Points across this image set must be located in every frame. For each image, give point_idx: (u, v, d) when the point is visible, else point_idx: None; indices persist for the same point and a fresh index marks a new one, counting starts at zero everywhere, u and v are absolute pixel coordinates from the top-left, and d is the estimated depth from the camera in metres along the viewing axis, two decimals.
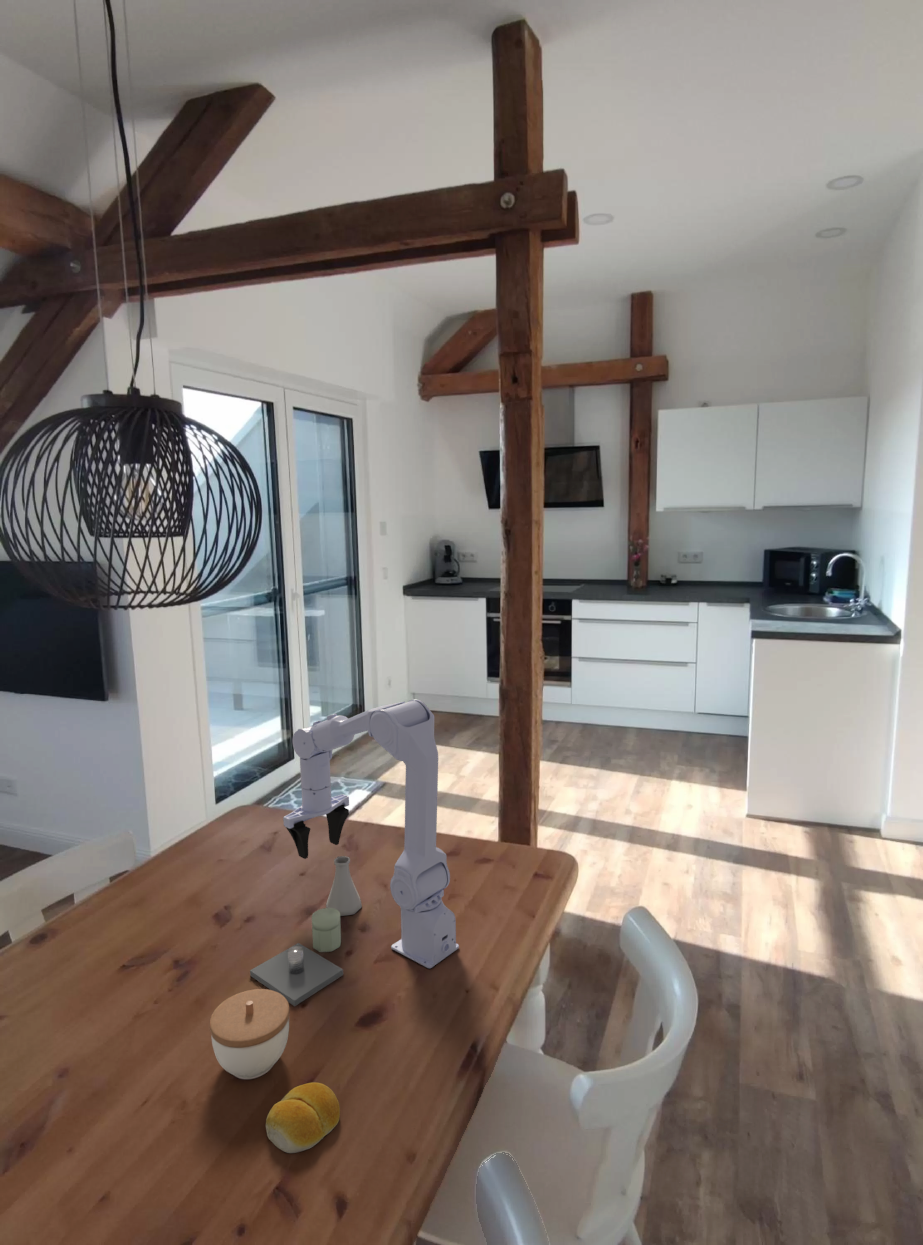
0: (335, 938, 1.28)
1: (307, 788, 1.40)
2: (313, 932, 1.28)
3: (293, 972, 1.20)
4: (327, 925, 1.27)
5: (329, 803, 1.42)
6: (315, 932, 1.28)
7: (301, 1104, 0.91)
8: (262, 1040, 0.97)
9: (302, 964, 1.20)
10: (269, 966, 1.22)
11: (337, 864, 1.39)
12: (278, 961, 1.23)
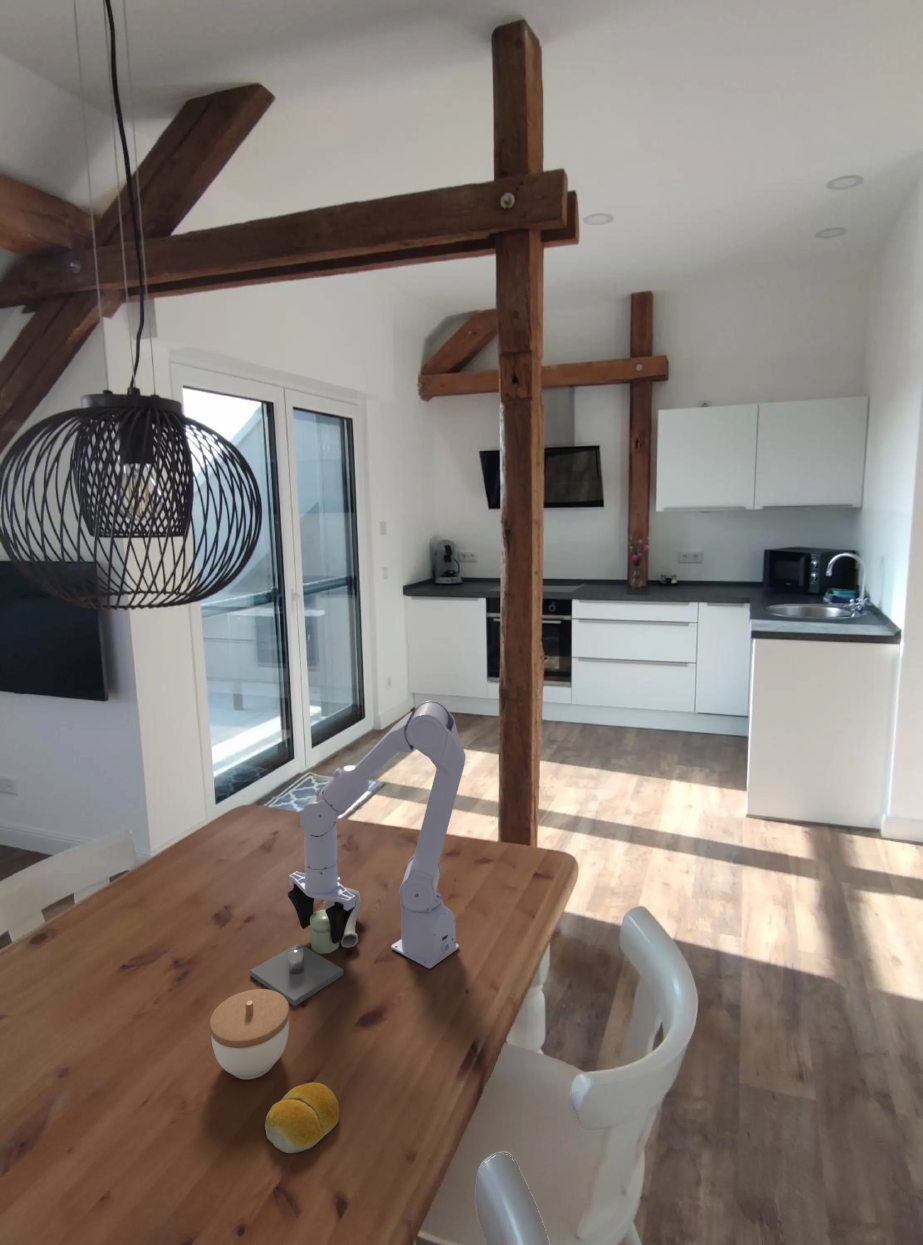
0: None
1: (321, 868, 1.25)
2: (311, 933, 1.28)
3: (293, 972, 1.20)
4: (325, 926, 1.26)
5: (314, 888, 1.25)
6: (313, 933, 1.27)
7: (301, 1104, 0.91)
8: (262, 1040, 0.97)
9: (302, 964, 1.20)
10: (269, 966, 1.22)
11: None
12: (278, 961, 1.23)
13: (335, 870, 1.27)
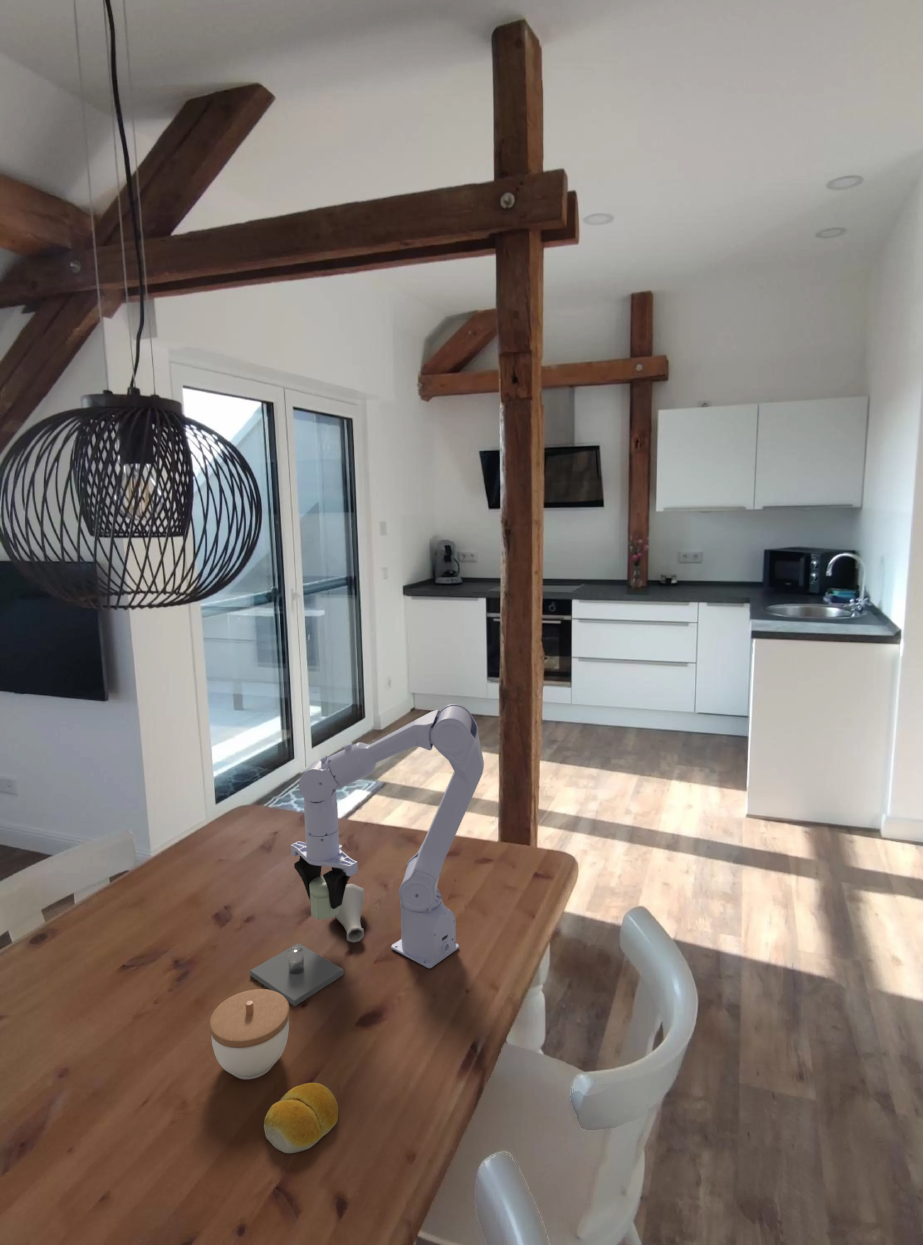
0: None
1: (322, 834, 1.24)
2: (311, 899, 1.27)
3: (293, 972, 1.20)
4: (325, 892, 1.26)
5: (316, 855, 1.24)
6: (313, 899, 1.26)
7: (300, 1104, 0.90)
8: (262, 1040, 0.97)
9: (302, 964, 1.20)
10: (269, 966, 1.22)
11: None
12: (278, 961, 1.23)
13: (336, 837, 1.26)
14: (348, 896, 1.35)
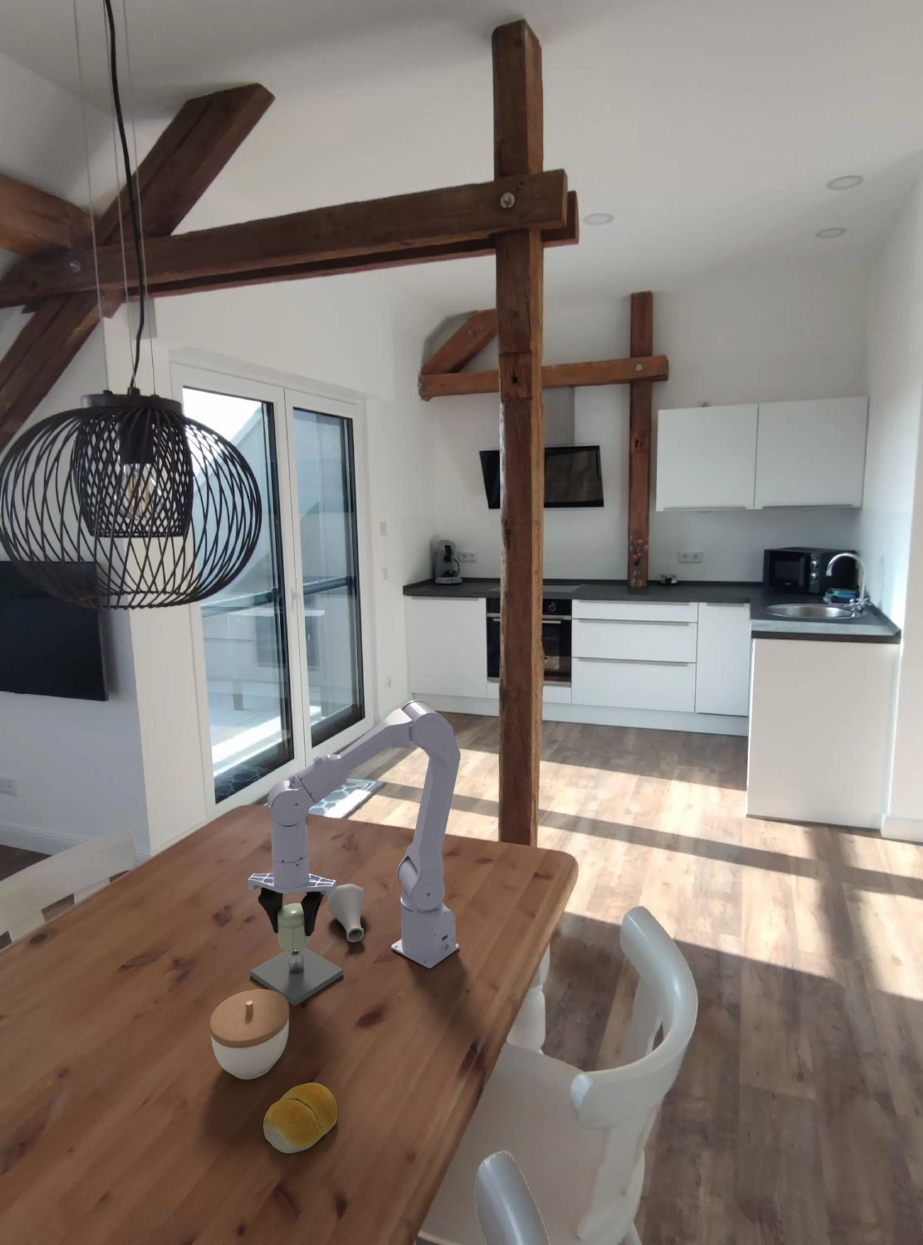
0: None
1: (297, 859, 1.16)
2: (283, 932, 1.17)
3: (293, 972, 1.20)
4: (300, 920, 1.17)
5: (291, 883, 1.16)
6: (286, 931, 1.17)
7: (299, 1105, 0.90)
8: (262, 1040, 0.97)
9: (302, 964, 1.20)
10: (269, 966, 1.22)
11: None
12: (278, 961, 1.23)
13: (308, 859, 1.18)
14: (348, 896, 1.35)
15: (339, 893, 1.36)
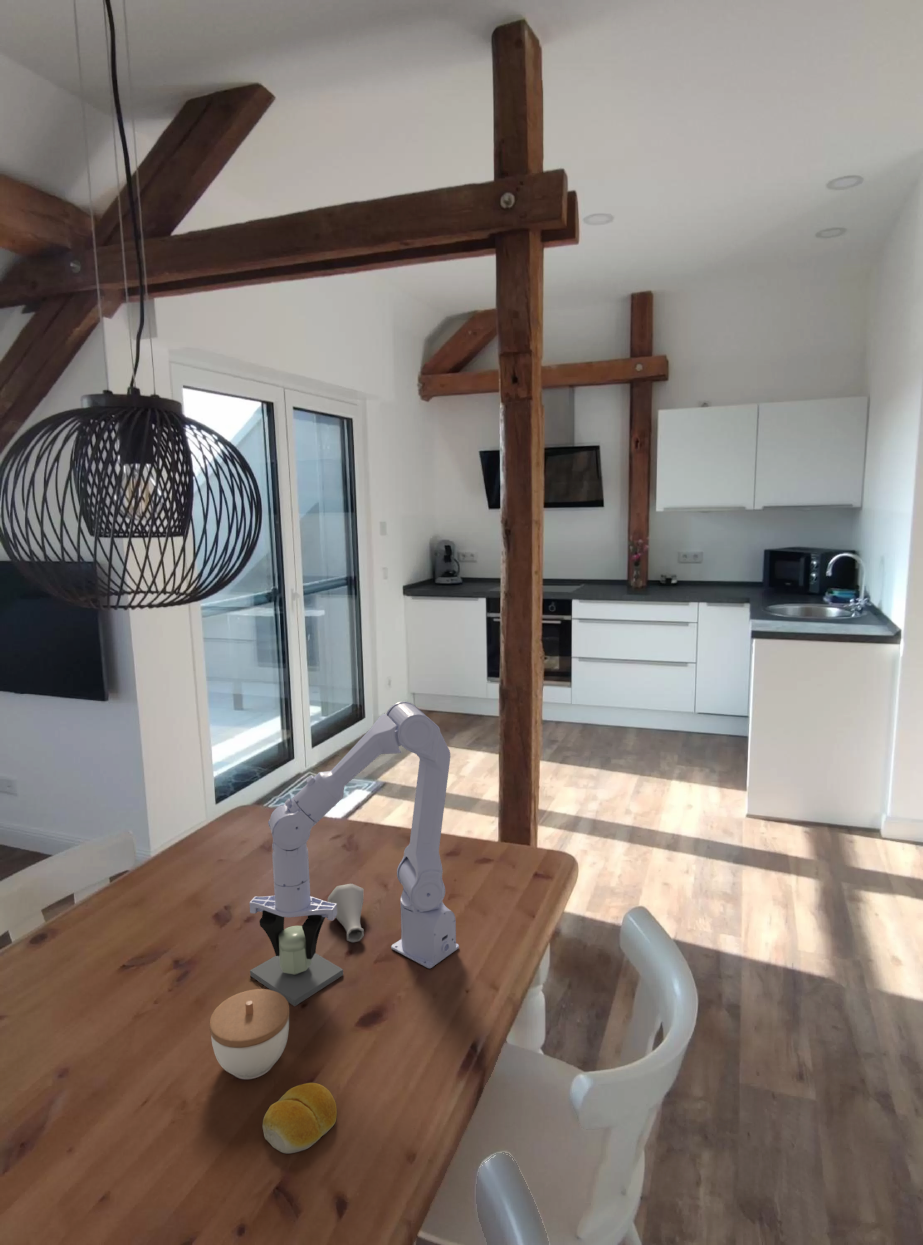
0: None
1: (298, 883, 1.16)
2: (284, 955, 1.18)
3: None
4: (301, 943, 1.18)
5: (292, 906, 1.16)
6: (287, 954, 1.18)
7: (298, 1105, 0.90)
8: (262, 1040, 0.97)
9: None
10: (269, 966, 1.22)
11: None
12: (278, 961, 1.23)
13: (309, 882, 1.19)
14: (348, 896, 1.35)
15: (339, 893, 1.36)
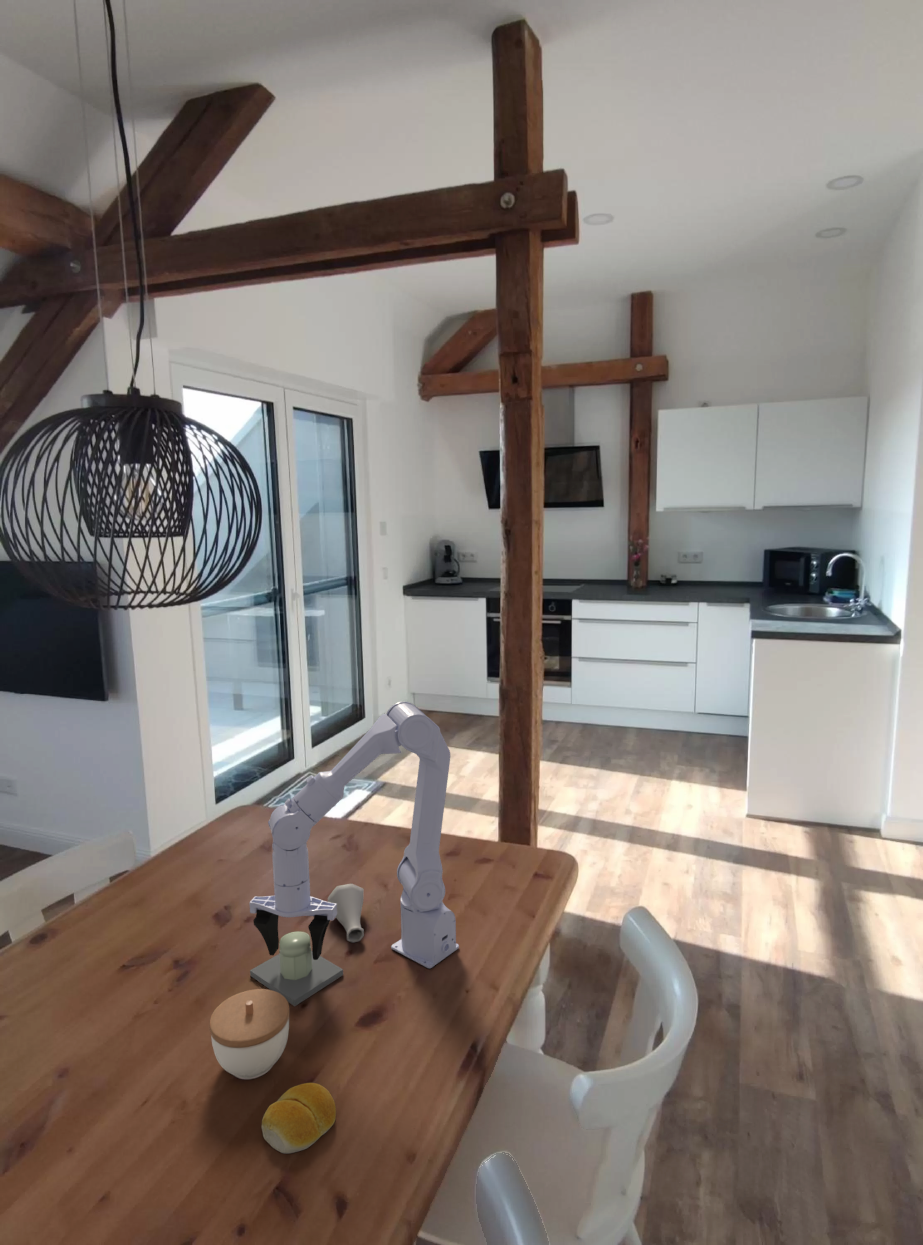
0: (309, 961, 1.20)
1: (298, 883, 1.16)
2: (285, 961, 1.18)
3: None
4: (302, 948, 1.18)
5: (292, 906, 1.16)
6: (288, 960, 1.18)
7: (297, 1105, 0.90)
8: (262, 1040, 0.97)
9: None
10: (269, 966, 1.22)
11: None
12: (278, 961, 1.23)
13: (309, 882, 1.19)
14: (348, 896, 1.35)
15: (339, 893, 1.36)
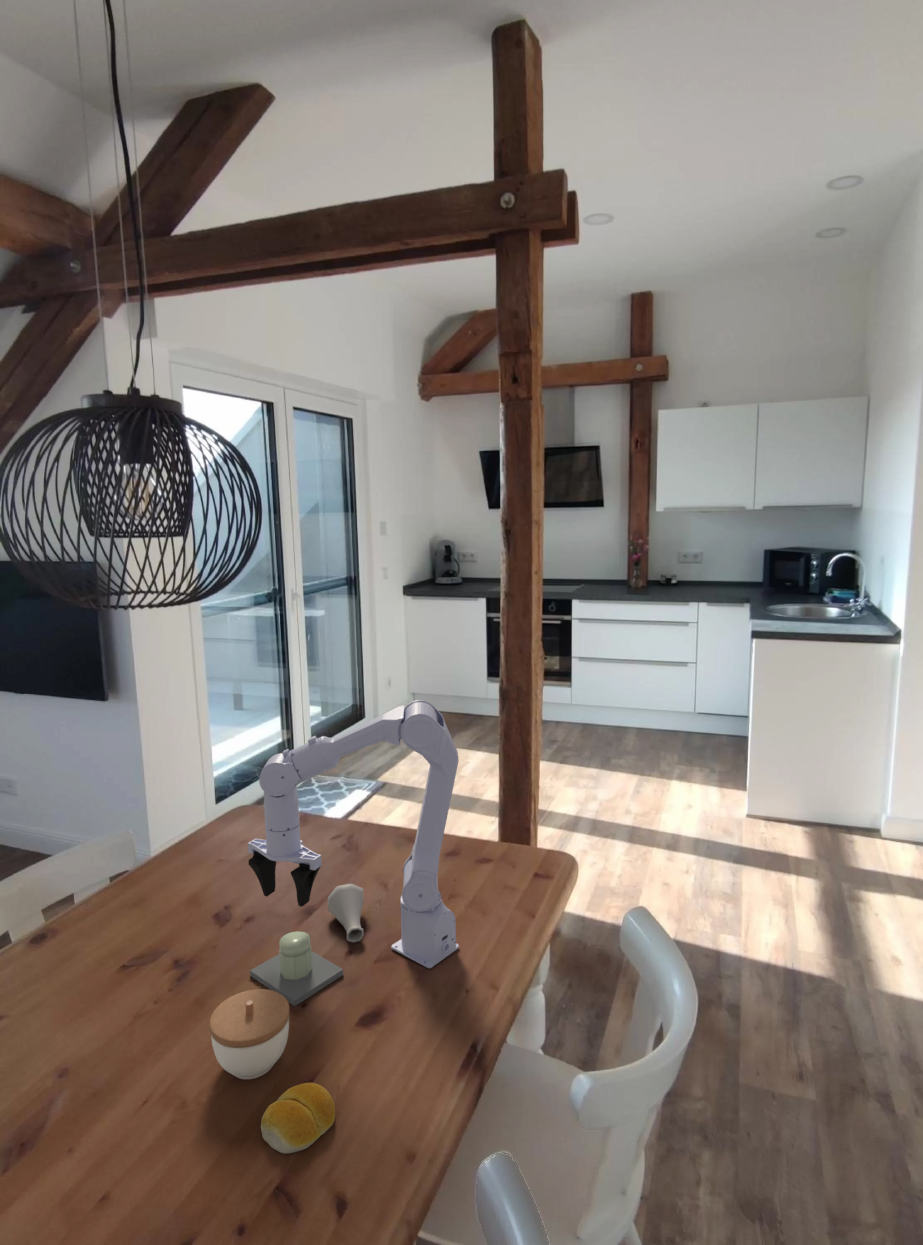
0: (309, 961, 1.20)
1: (284, 829, 1.21)
2: (285, 961, 1.18)
3: None
4: (302, 948, 1.18)
5: (278, 851, 1.21)
6: (288, 960, 1.18)
7: (296, 1105, 0.90)
8: (262, 1040, 0.97)
9: None
10: (269, 966, 1.22)
11: None
12: (278, 961, 1.23)
13: (298, 831, 1.23)
14: (348, 896, 1.35)
15: (339, 893, 1.36)
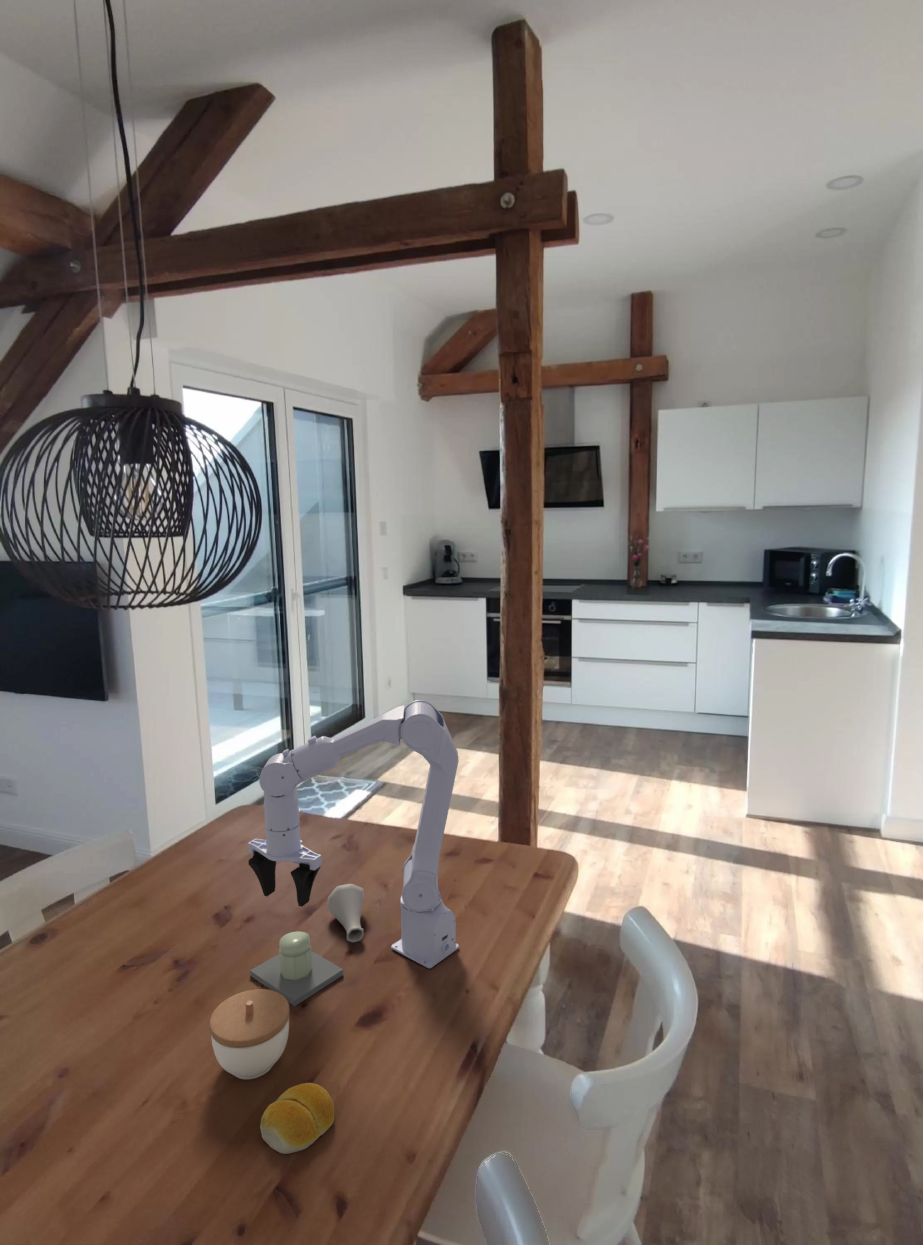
0: (309, 961, 1.20)
1: (284, 829, 1.21)
2: (285, 961, 1.18)
3: None
4: (302, 948, 1.18)
5: (278, 851, 1.21)
6: (288, 960, 1.18)
7: (296, 1105, 0.90)
8: (262, 1040, 0.97)
9: None
10: (269, 966, 1.22)
11: None
12: (278, 961, 1.23)
13: (298, 831, 1.23)
14: (348, 896, 1.35)
15: (339, 893, 1.36)
